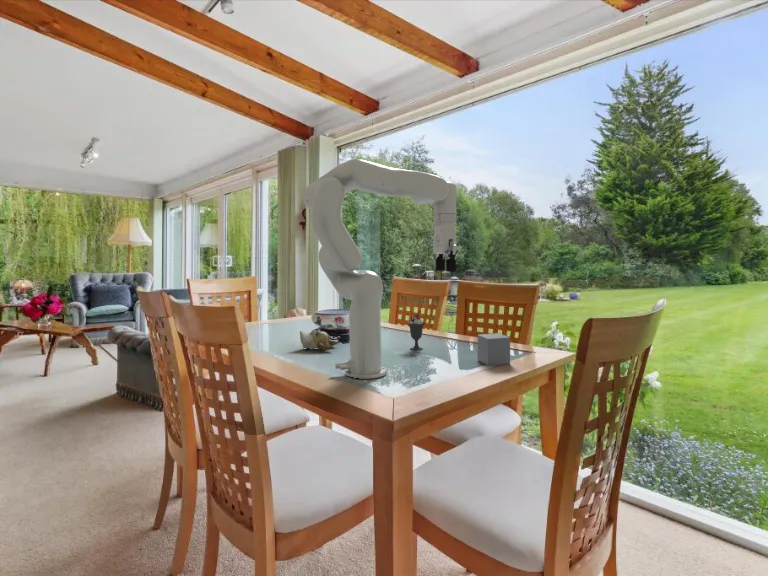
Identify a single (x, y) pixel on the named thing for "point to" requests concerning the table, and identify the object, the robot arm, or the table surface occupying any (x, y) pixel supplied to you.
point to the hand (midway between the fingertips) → (445, 271)
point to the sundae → (416, 330)
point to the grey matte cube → (494, 349)
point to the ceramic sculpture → (317, 340)
